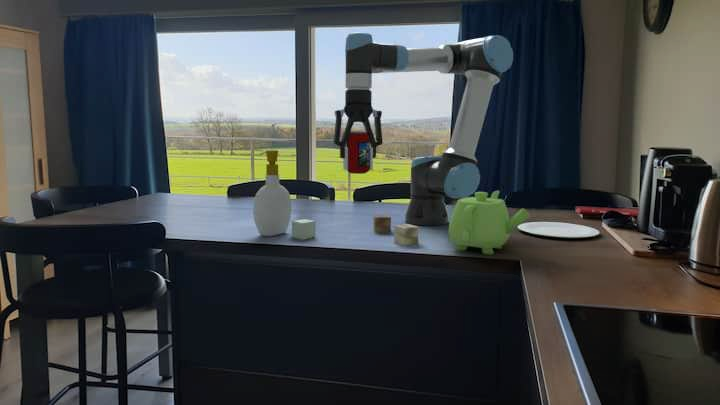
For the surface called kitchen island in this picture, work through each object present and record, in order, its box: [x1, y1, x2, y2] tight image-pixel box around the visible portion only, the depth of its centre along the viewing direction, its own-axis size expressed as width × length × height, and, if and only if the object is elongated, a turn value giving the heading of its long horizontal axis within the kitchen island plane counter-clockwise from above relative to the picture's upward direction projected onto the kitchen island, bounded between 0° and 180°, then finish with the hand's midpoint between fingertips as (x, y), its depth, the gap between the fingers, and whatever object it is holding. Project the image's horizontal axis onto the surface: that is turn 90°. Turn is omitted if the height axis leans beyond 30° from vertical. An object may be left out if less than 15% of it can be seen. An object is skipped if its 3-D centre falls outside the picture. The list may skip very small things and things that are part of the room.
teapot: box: [448, 190, 531, 255], centre depth 149 cm, size 25×22×16 cm
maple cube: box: [393, 223, 420, 246], centre depth 156 cm, size 5×5×5 cm
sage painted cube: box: [291, 218, 316, 240], centre depth 163 cm, size 5×5×5 cm
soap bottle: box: [253, 149, 292, 237], centre depth 165 cm, size 14×9×26 cm, turn 146°
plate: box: [517, 221, 601, 240], centre depth 173 cm, size 25×25×2 cm
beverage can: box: [346, 131, 371, 175], centre depth 156 cm, size 7×7×12 cm
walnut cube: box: [373, 214, 392, 234], centre depth 173 cm, size 5×5×5 cm
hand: (357, 169), depth 157 cm, fingers closed on beverage can, 7 cm apart
